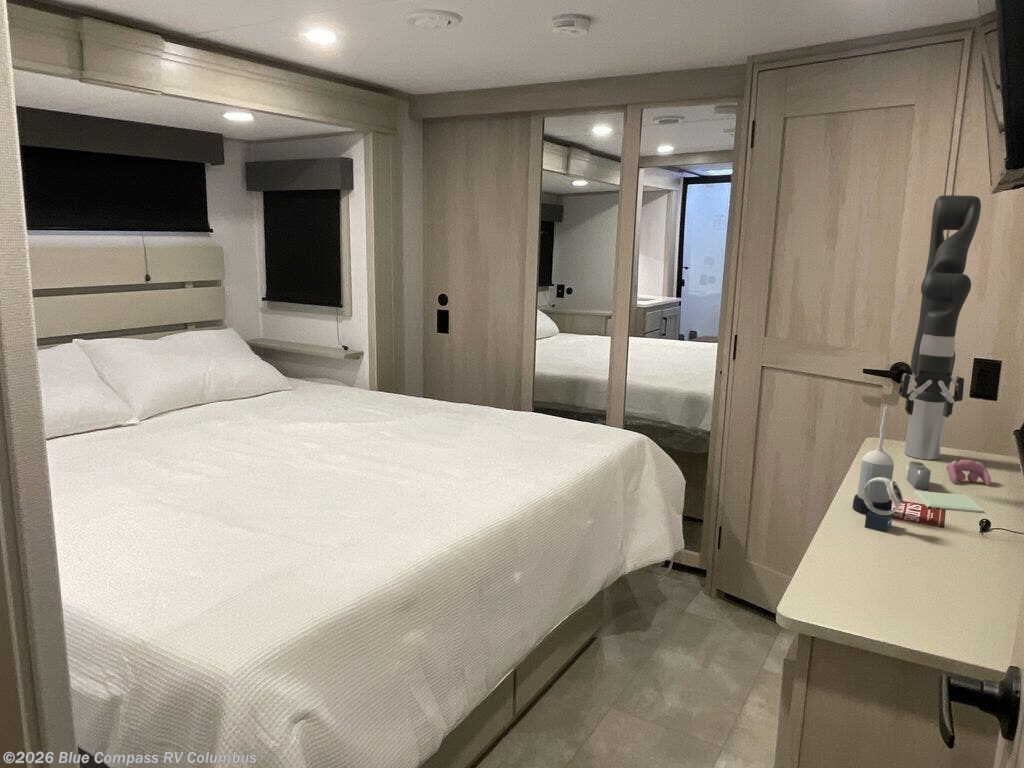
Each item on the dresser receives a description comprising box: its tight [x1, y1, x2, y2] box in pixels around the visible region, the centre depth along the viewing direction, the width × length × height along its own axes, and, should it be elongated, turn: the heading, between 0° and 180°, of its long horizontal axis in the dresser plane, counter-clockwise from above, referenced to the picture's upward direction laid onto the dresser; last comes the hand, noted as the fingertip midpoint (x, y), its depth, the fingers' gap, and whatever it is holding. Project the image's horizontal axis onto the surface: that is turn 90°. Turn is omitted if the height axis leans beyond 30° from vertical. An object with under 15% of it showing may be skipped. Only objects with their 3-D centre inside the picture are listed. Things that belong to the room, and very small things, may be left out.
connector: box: [906, 461, 932, 492], centre depth 193 cm, size 11×3×5 cm, turn 168°
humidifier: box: [852, 406, 895, 516], centre depth 171 cm, size 8×8×25 cm
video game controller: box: [946, 459, 992, 487], centre depth 196 cm, size 10×5×7 cm, turn 84°
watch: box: [862, 477, 904, 533], centre depth 163 cm, size 6×8×11 cm
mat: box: [913, 490, 985, 514], centre depth 180 cm, size 11×12×1 cm
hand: (927, 415), depth 189 cm, fingers open, 8 cm apart
